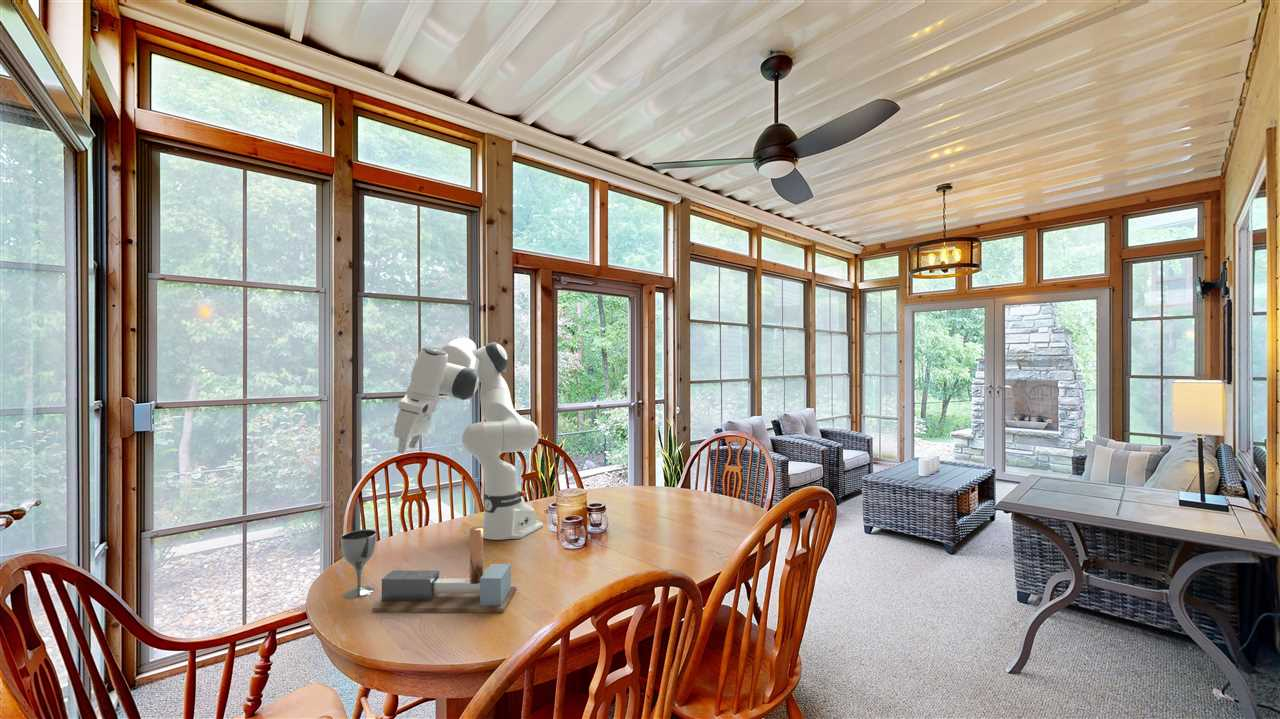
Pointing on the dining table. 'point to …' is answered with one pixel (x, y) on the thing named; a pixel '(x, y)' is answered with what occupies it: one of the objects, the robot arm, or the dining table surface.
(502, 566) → the socket block
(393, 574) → the graphite sleeve
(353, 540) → the wine glass
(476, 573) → the upright copper peg
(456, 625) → the dining table surface
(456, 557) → the dining table surface
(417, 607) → the walnut board
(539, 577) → the dining table surface
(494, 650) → the dining table surface
